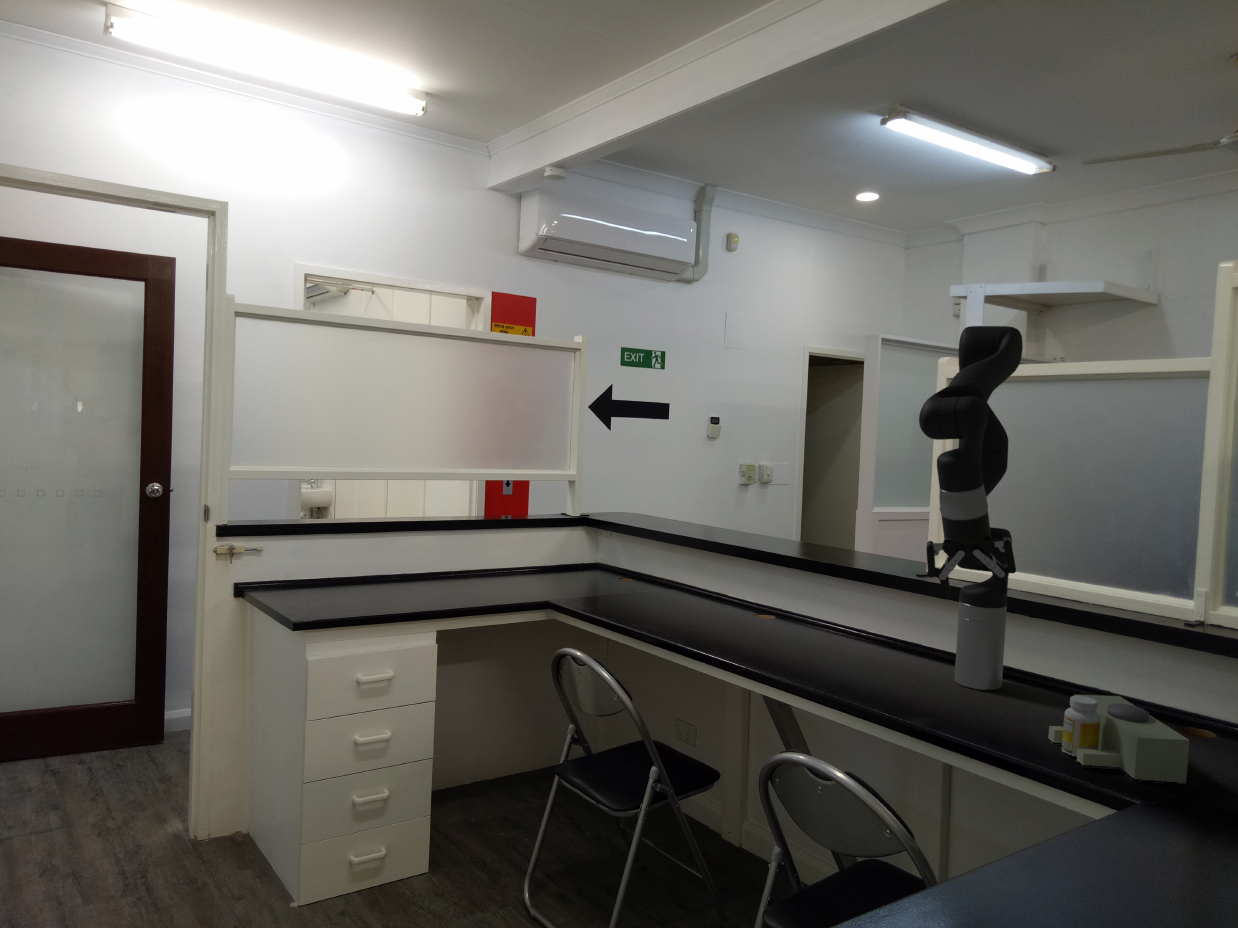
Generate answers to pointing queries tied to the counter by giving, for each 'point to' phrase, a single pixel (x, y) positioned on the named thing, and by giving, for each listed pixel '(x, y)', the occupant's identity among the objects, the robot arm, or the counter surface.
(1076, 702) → the supplement bottle
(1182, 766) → the olive footed block
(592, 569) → the counter surface
